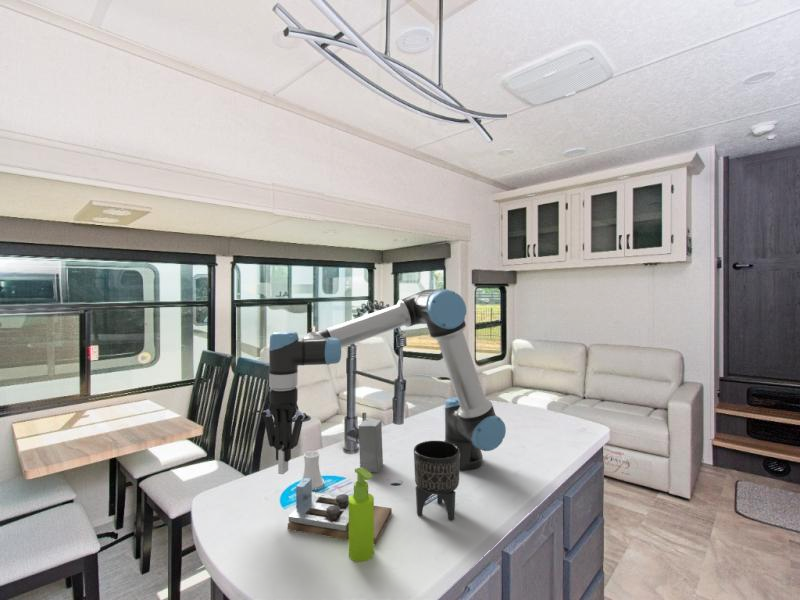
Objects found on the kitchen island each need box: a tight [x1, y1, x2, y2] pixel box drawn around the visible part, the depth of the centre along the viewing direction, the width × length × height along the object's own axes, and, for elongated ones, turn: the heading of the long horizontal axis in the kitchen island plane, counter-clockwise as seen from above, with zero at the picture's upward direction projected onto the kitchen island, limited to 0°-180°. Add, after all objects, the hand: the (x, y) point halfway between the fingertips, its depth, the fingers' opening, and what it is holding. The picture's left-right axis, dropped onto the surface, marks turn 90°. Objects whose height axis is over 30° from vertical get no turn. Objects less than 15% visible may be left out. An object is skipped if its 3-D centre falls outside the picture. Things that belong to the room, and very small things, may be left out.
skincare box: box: [357, 419, 384, 473], centre depth 140 cm, size 8×7×16 cm
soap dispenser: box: [348, 466, 375, 563], centre depth 94 cm, size 6×7×20 cm
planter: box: [413, 440, 461, 522], centre depth 112 cm, size 13×13×18 cm
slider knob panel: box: [288, 478, 349, 531], centre depth 108 cm, size 16×13×7 cm
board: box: [287, 493, 393, 546], centre depth 107 cm, size 24×14×5 cm, turn 75°
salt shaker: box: [299, 450, 325, 491], centre depth 127 cm, size 8×8×10 cm
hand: (283, 471), depth 111 cm, fingers closed
